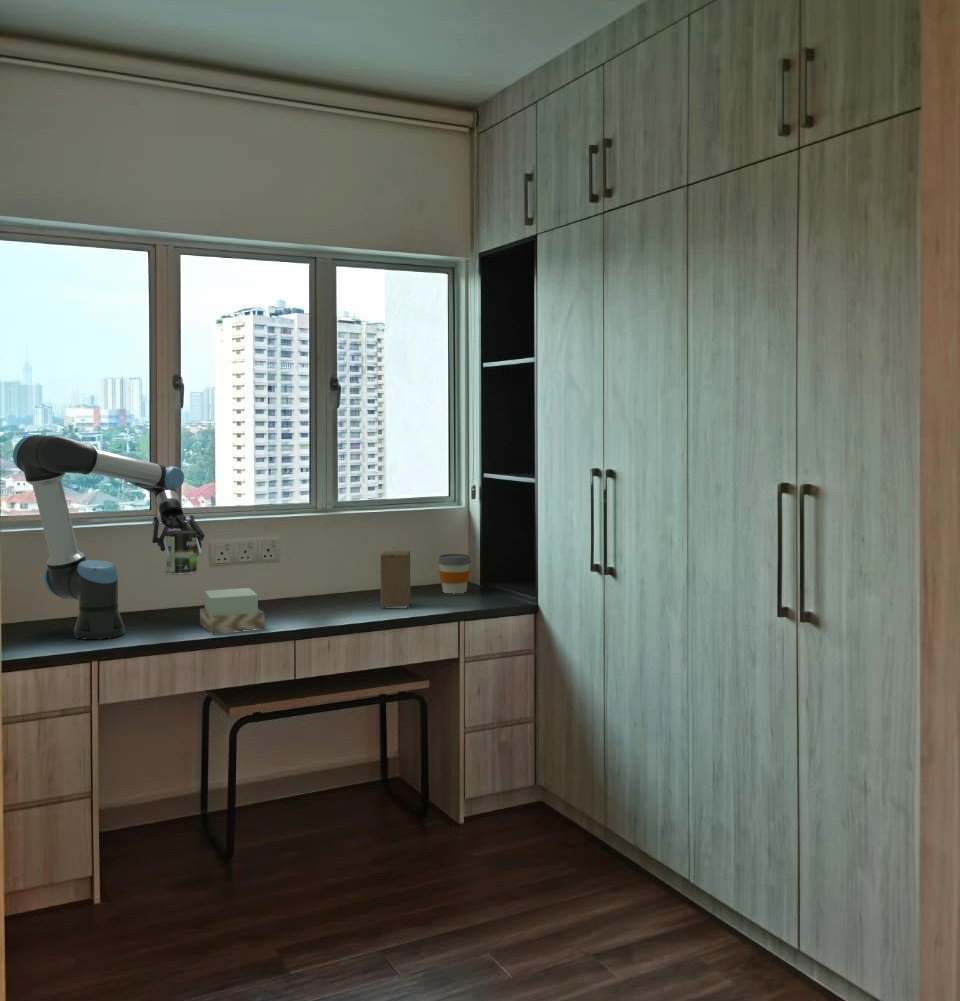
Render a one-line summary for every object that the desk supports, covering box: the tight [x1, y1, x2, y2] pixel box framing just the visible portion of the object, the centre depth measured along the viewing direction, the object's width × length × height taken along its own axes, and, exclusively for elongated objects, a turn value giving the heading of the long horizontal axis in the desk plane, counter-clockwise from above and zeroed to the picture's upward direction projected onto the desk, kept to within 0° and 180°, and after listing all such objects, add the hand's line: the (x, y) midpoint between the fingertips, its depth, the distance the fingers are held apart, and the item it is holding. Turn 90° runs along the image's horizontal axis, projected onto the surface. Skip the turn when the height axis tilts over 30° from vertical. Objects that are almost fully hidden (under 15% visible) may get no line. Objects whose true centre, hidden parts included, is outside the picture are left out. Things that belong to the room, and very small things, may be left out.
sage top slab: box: [203, 587, 259, 617], centre depth 334 cm, size 15×15×6 cm
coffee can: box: [165, 529, 198, 576], centre depth 343 cm, size 10×10×14 cm
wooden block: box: [379, 550, 411, 608], centre depth 371 cm, size 10×10×20 cm
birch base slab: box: [199, 607, 266, 635], centre depth 335 cm, size 17×17×6 cm
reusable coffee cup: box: [438, 553, 472, 594], centre depth 397 cm, size 13×13×15 cm
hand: (184, 556), depth 341 cm, fingers closed on coffee can, 10 cm apart
